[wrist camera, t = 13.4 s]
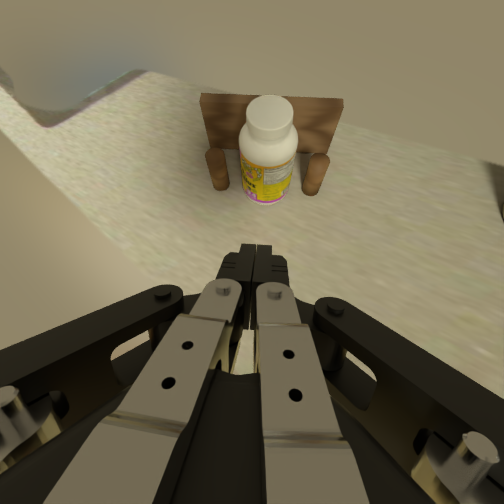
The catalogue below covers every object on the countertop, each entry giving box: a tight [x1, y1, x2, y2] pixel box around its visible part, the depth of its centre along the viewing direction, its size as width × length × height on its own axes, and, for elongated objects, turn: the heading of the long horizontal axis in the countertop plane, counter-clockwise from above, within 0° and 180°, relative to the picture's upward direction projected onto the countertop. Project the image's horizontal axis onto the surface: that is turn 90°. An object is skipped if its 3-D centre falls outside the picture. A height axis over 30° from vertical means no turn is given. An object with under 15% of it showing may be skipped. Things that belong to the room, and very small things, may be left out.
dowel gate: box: [205, 147, 330, 196], centre depth 34 cm, size 15×2×6 cm, turn 85°
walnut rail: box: [199, 93, 344, 154], centre depth 35 cm, size 18×2×8 cm, turn 85°
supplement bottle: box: [239, 95, 298, 205], centre depth 31 cm, size 7×7×13 cm
